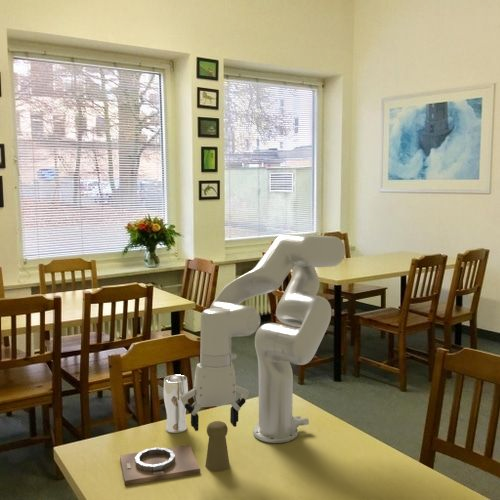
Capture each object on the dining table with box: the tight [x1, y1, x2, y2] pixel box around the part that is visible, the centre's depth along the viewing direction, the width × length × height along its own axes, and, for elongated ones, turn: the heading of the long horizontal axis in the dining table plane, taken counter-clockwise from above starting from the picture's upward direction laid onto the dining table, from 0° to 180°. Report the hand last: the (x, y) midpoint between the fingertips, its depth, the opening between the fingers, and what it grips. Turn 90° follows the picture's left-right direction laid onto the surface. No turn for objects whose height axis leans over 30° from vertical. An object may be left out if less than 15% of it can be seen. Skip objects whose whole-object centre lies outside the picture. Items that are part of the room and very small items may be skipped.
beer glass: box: [163, 374, 189, 434], centre depth 159 cm, size 7×7×15 cm
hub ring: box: [135, 446, 175, 472], centre depth 138 cm, size 10×10×2 cm
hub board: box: [119, 444, 201, 486], centre depth 138 cm, size 18×13×1 cm
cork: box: [205, 420, 231, 472], centre depth 138 cm, size 6×6×11 cm
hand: (214, 426), depth 137 cm, fingers open, 9 cm apart
